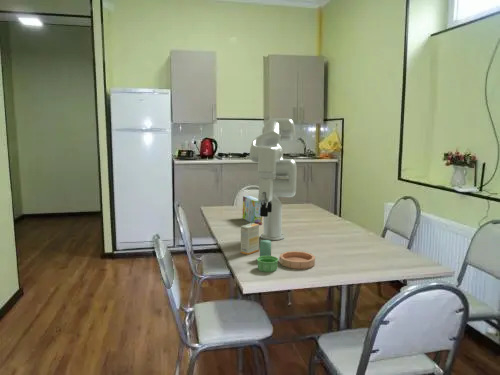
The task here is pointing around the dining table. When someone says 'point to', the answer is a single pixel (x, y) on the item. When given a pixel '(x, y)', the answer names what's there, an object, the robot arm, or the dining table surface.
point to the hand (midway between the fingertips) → (266, 214)
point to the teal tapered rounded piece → (265, 248)
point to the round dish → (297, 260)
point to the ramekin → (267, 263)
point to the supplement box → (249, 238)
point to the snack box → (252, 210)
